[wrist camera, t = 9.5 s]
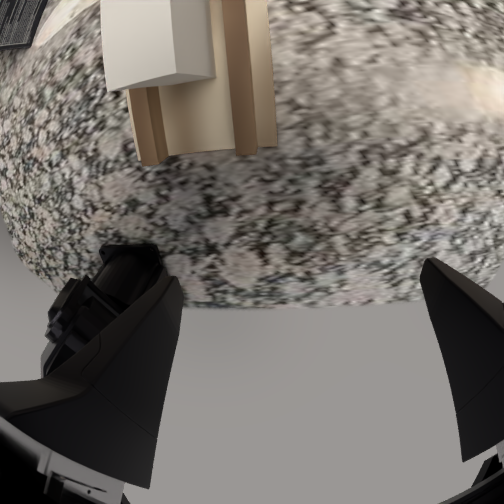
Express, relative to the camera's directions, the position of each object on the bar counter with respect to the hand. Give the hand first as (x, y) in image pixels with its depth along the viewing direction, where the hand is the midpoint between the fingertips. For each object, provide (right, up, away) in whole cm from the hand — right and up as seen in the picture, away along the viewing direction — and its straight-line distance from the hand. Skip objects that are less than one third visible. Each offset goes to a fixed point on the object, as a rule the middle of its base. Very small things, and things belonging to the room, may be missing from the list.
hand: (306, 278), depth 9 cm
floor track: (-6, +17, +3) cm, 18 cm away
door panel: (-6, +17, +2) cm, 18 cm away
